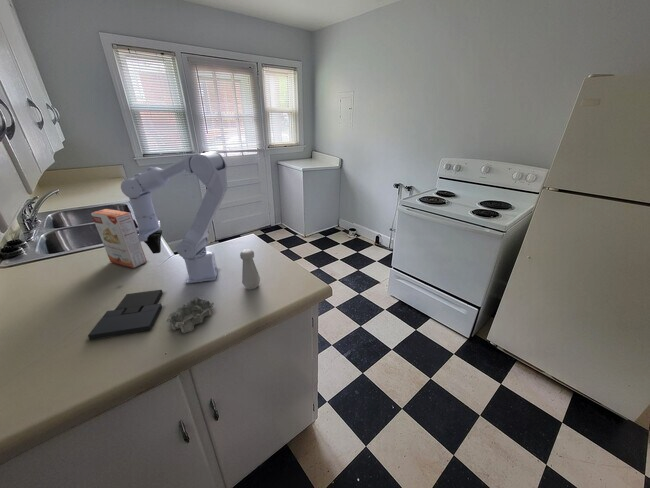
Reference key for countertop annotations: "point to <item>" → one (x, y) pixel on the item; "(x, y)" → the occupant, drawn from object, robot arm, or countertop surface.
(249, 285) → the salt shaker
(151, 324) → the charcoal pad
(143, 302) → the black pad
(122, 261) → the cracker box
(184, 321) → the egg carton
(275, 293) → the countertop surface
